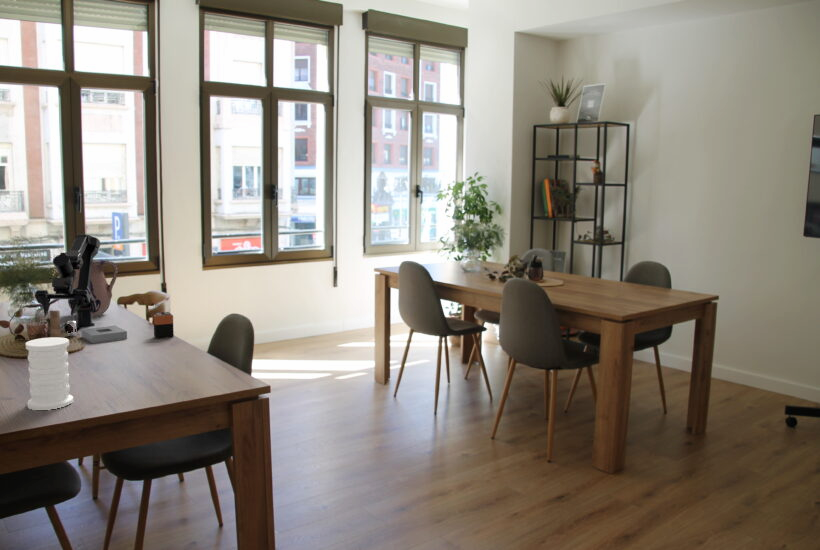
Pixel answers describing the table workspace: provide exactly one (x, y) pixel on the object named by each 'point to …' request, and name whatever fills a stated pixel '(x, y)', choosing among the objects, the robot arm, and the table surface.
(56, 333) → the walnut pin
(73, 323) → the steel pin
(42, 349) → the decorative container
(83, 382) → the table surface
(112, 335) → the hole plate
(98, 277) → the ceramic pitcher
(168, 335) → the battery
